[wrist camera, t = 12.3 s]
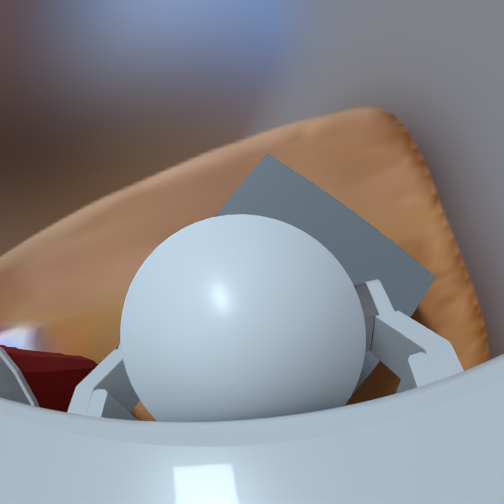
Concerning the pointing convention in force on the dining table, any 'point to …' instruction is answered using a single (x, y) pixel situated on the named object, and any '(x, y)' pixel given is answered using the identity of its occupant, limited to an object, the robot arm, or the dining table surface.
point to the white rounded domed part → (241, 324)
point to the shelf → (333, 235)
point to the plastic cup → (41, 377)
